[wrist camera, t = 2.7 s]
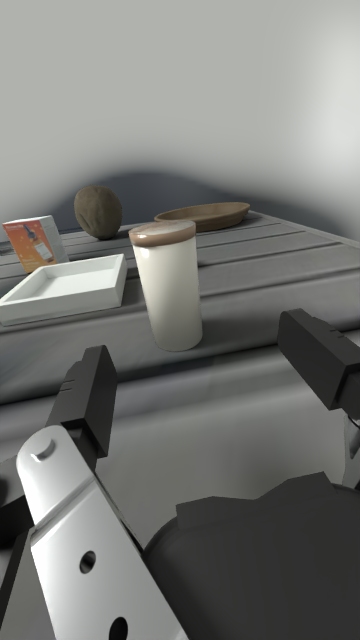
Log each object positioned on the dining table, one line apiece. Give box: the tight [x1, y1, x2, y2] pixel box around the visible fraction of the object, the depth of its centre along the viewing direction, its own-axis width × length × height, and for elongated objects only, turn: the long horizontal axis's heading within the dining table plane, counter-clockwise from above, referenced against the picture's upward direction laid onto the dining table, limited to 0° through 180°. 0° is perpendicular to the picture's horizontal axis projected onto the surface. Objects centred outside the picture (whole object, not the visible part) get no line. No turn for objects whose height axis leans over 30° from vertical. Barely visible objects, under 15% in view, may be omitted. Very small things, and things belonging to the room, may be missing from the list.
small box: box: [2, 216, 69, 273], centre depth 49 cm, size 8×6×10 cm
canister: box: [129, 220, 203, 352], centre depth 21 cm, size 5×5×11 cm
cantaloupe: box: [74, 185, 122, 239], centre depth 69 cm, size 14×14×15 cm
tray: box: [0, 254, 128, 326], centre depth 37 cm, size 16×16×3 cm
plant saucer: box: [154, 202, 250, 232], centre depth 74 cm, size 31×31×5 cm
